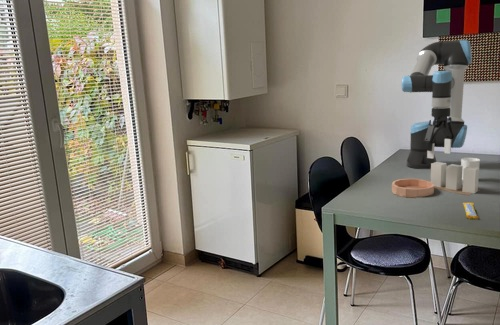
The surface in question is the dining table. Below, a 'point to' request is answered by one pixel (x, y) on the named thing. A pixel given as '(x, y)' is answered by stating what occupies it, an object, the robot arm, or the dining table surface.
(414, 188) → the bowl
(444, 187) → the board
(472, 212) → the candy bar
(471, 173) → the off-white square pillar
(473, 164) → the white cup
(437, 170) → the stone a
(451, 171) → the off-white rectangular block
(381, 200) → the dining table surface
